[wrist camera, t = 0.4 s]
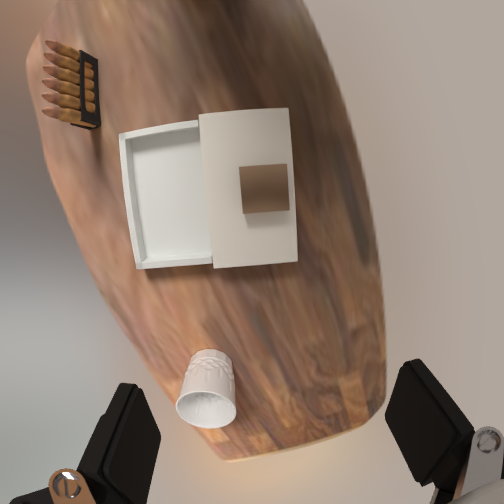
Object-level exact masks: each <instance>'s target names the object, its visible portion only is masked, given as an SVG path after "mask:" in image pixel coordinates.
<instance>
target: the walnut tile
mask: <svg viewBox="0 0 504 504" xmlns="http://www.w3.org/2000/svg"><path fill="white" fill-rule="evenodd" d="M239 175H240V187H241V198H242V210H243V214H249V213H261V212H274V211H288V210H290V205H289V188H288V173H287V164H271V165H256V166H243V167H239Z"/></svg>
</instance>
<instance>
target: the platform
mask: <svg viewBox="0 0 504 504" xmlns="http://www.w3.org/2000/svg"><path fill="white" fill-rule="evenodd" d="M199 128H200V141H201V153H202V164H203V175H204V186H205V196H206V205H207V215H208V224H209V233H210V241H211V250H212V258H213V266H214V269H215V268H227V267H239V266H251V265H262V264H274V263H285V262H296V261H298V255H297V228H296V207H295V188H294V172H293V158H292V144H291V132H290V120H289V110H288V108H268V109H250V110H237V111H226V112H216V113H207V114H200V115H199ZM271 164H287V173H288V188H289V205H290V210H288V211H274V212H261V213H249V214H243V210H242V198H241V187H240V175H239V167H243V166H256V165H271Z"/></svg>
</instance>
